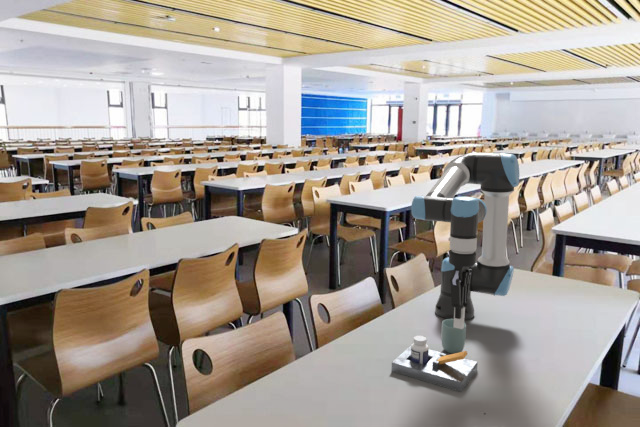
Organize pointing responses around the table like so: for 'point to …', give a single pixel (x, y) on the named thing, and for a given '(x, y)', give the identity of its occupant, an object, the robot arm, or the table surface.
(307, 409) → the table surface
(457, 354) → the lever
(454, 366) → the hitch plate
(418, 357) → the pill bottle
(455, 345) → the cup
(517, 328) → the table surface
